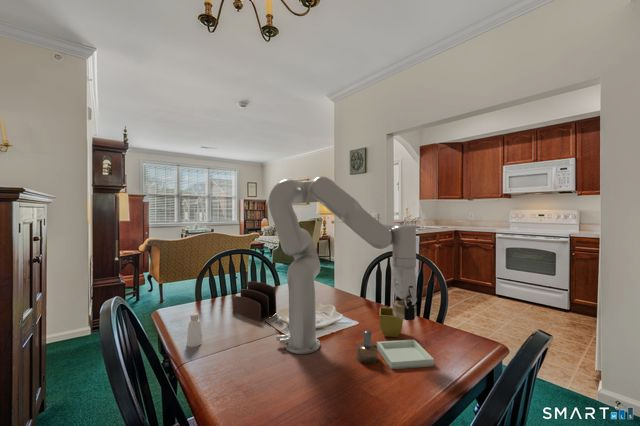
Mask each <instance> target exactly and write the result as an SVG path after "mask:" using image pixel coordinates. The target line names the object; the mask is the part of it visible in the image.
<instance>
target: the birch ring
mask: <svg viewBox="0 0 640 426" xmlns="http://www.w3.org/2000/svg"><path fill="white" fill-rule="evenodd" d="M407 301H408V303H409V301H410V300H407ZM404 307H406V306H405V301H404V299H402V300H398V301H395V300H394V302H392V308H393V315H394V316H395V317H396V318H399V319H403V321H404V320H405V319H404ZM415 318H417V304H416V305H415ZM405 321H406V320H405Z"/></svg>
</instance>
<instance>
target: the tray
mask: <svg viewBox="0 0 640 426" xmlns="http://www.w3.org/2000/svg"><path fill="white" fill-rule="evenodd" d="M376 346H377V347H378V352H379V353H380V355H381V357H382V358H383V359H384V361H385V362H386V364H387V366H388V367H389V368H390V370H396V369H397V370H399V369H414V368H426V367H434V366H435V358H433V357H432V356H431V354H430V353H428V351H426V349H424V348H423V346H421V345H420V343H419V342H417V341H416V340H415V339H403V340H402V339H401V340H384V341H376Z"/></svg>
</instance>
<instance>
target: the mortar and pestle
mask: <svg viewBox="0 0 640 426" xmlns="http://www.w3.org/2000/svg"><path fill="white" fill-rule="evenodd" d="M356 348H357V349H356V350H357V351H356V355H357V356H356V357H357V358H356V359H357V361H358V362H359V363H361V364H364V365H373V364H376V363H377V362H378V352H379V351H378V347H377V344H375V343H373V342H372V331H371V330H367V329H366V330H364V331H363V342H360V343H358V344H357V346H356Z"/></svg>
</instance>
